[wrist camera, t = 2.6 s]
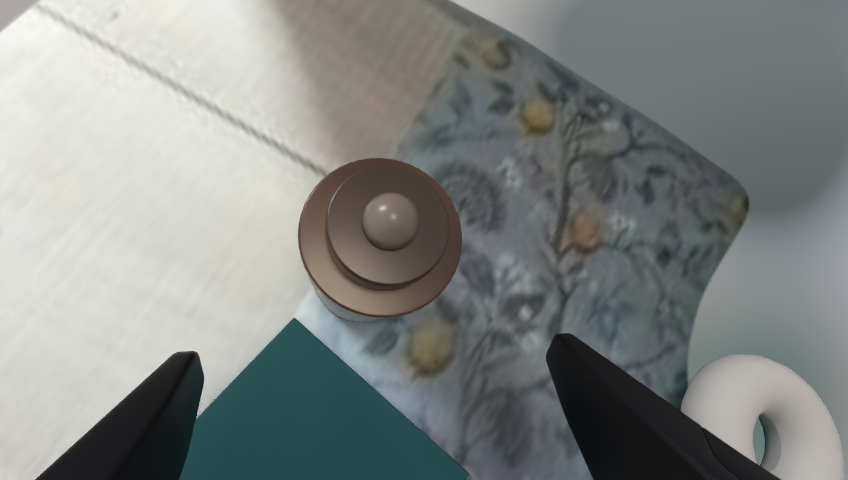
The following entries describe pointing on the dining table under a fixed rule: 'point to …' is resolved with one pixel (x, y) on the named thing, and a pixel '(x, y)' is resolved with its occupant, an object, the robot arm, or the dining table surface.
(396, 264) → the pepper mill
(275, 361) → the napkin
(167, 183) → the dining table surface
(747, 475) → the robot arm
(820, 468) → the donut
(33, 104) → the dining table surface
